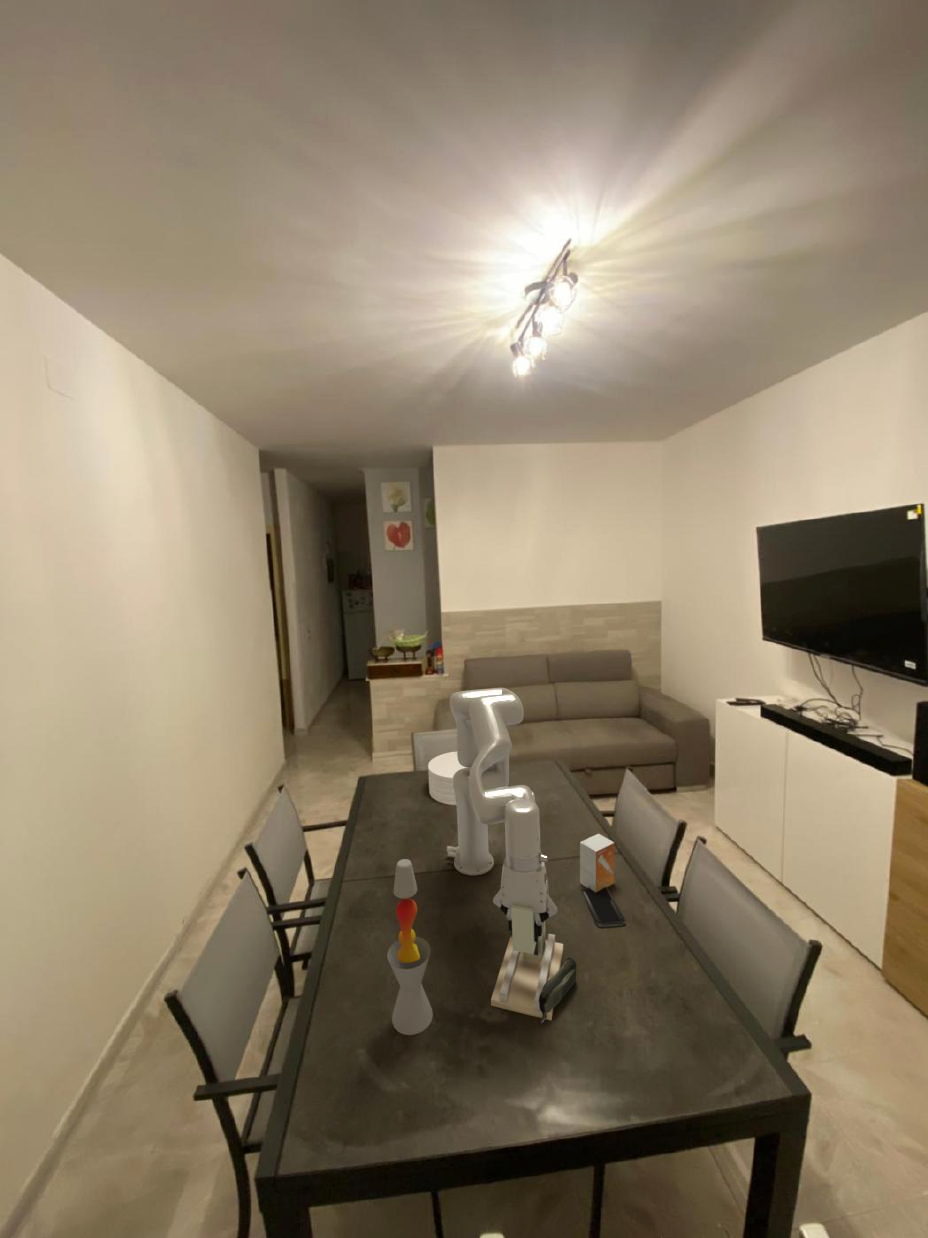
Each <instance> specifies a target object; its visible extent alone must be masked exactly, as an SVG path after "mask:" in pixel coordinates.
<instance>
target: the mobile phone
mask: <svg viewBox="0 0 928 1238" xmlns="http://www.w3.org/2000/svg"><path fill="white" fill-rule="evenodd" d="M576 980H577V963H576V960H574V959H573V958H571V957H568V958H567V959H566V960H565V962H564V963H563V964H561V966H560V969H559V970H558V971H557V973H556V974H555V975H554V976H553V977H552V978H551V979H549V980H548V981H547V982H546V983H545V985H544V987H543V989H542V991H541V993H540V996H539V1008H540V1010H541V1012H542V1014H543V1016H542V1018H540V1020H539V1023H540V1024H543V1023H544V1022H545V1021H546V1020H547V1019H546V1017H547V1012H549V1011H550V1010H551V1009H552V1008H553V1009H554V1008H555V1007H557V1006H558V1004H560V1003H561V1001H562V1000H563V998H564V997H565V996H566V994H568V992H569V991H570V989H571V988H572V987H573V986H574V985H575V984H574V983H575V982H576Z"/></svg>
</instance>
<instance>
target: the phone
mask: <svg viewBox="0 0 928 1238" xmlns="http://www.w3.org/2000/svg"><path fill="white" fill-rule="evenodd" d="M581 895H582V897H583V900H584V902H585V904H586V906H587V908H588V911H589V912H590V914H591V917H592V919H593V922H594V923H595V924H594V925H595V926H596V928H597V927H598V928H599V929H606V928H607V929H608V928H614V927H615V928H618V927H624V926H626V919H625V917H624V916H623V913H622V911H621V910H620V908H619V906H618V904H617V902H616V900H615V898H614V897H613V895H612V893H611V891H610V889H609V888H608V887H604V888H603V889H601V890H599V891H598V892H594V891H593V890H592V889H590V888H587V887H583V888H582V889H581Z"/></svg>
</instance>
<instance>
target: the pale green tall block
mask: <svg viewBox="0 0 928 1238" xmlns="http://www.w3.org/2000/svg"><path fill="white" fill-rule="evenodd" d="M511 910H512V940H513V950H514V951H518V952H523V953H528V954H534V950H535V946H536V942H535V941H534V924H535V917H534V912H533V908H526V907H521V906H515V905H512V907H511Z"/></svg>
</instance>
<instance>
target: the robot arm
mask: <svg viewBox="0 0 928 1238" xmlns="http://www.w3.org/2000/svg"><path fill="white" fill-rule="evenodd" d="M449 708H450V712H451V714H452V717H453V719H454V721H455V726H456V751H457V757H458V761H459V763H460V765H462V766H464V767H468V768H463V769H460V770H458V771H457V772H456V773H455V774H454V776H453V788H454V793H455V798H456V805H455V806H456V820H457V821H456V822H457V840H458V841H457V843H458V845H457V846H453V845H447V846H446V853H447V857H450V858H454V860H453V861H454V862H453V863H454V868H455V870H456V871H458V872H459V873H461V874H463V875H467V876H479V875H480V876H481V875H484V874H486V873H489V872H490V871H491V870H492V869H493V868H494V865H495V860H494V857H493V855H492V854H491V853H490V852H489V831H488V830H489V829H488V828H489V827H488V826H489V825H494V824H495V825H496V824H500V823H501V824H502V823H504V834H505V835H504V837H505V838H504V839H505V840H504V841H505V857H504V859H503V863H502V870H501V878H500V879H501V880H500V889H499V890H498V891H497V892H496V894H495V895H494V896H493V899H492V903H493V904H494V905H496V906H497V907H498V908H499V909H500V910H501V912H502V913H503V914H504V915H505V916H506V920H508V931H509V932H510V937H512V910H511V907H512V905H515V906H521V907H526V908H533V912H534V917H535V924H534V941H535V942H538V938H539V936H542V923H543V922H544V921H545V922H546V921H547V920H548V919H549V917H550V918H551V917H553V916H555V915H556V914H558V907H557V905H556V903H555V902H554V901H553V899H552V898H551V897H550V893H549V890H550V889H549V880H548V874H547V868H546V864H545V863H548V855H545V854H543V852H542V848H541V823H540V821H541V820H540V808H539V806H538V804H537V803H536V797H535V794H534V791H533V790H531V788H530V787H529V786H527V785H525V784H518V785H511V786H509V785H510V784H509V783H510V781H509V780H510V779H509V777H510V775H509V774H510V753H511V752H512V749H513V743H512V741H511V738H510V734H509V731H508V728H507V726H514V725H515V726H516V725H520V724H521V723H522V722H523V720H524V716H525V709H524V706H523V703H522V700H521V699H520V697H519V696H518V695H517V694H516V693H515V692H513V691H511V690H510V689H508V688H505V687H491V688H483V689H481V688H480V689H467V690H462V691H461V690H460V691H456V692H454V693H452V694H451V695H450V697H449Z"/></svg>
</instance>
